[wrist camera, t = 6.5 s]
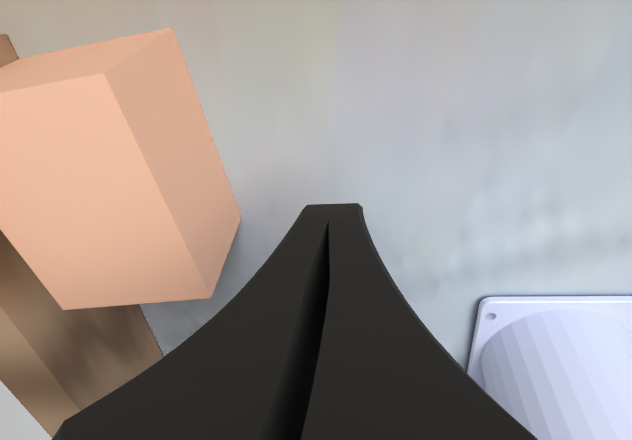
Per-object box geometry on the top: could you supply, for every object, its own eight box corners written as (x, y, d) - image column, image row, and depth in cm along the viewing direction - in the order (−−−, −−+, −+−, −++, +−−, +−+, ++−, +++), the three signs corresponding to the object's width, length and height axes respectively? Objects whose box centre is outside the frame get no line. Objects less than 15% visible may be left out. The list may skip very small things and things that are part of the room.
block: (242, 215, 19) (211, 298, 15) (121, 229, 20) (63, 310, 16) (173, 26, 15) (103, 72, 11) (23, 57, 16) (-93, 110, 12)
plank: (189, 409, 29) (156, 510, 24) (154, 409, 29) (114, 508, 25) (6, 34, 15) (-159, 96, 10) (-58, 39, 15) (-247, 103, 11)
